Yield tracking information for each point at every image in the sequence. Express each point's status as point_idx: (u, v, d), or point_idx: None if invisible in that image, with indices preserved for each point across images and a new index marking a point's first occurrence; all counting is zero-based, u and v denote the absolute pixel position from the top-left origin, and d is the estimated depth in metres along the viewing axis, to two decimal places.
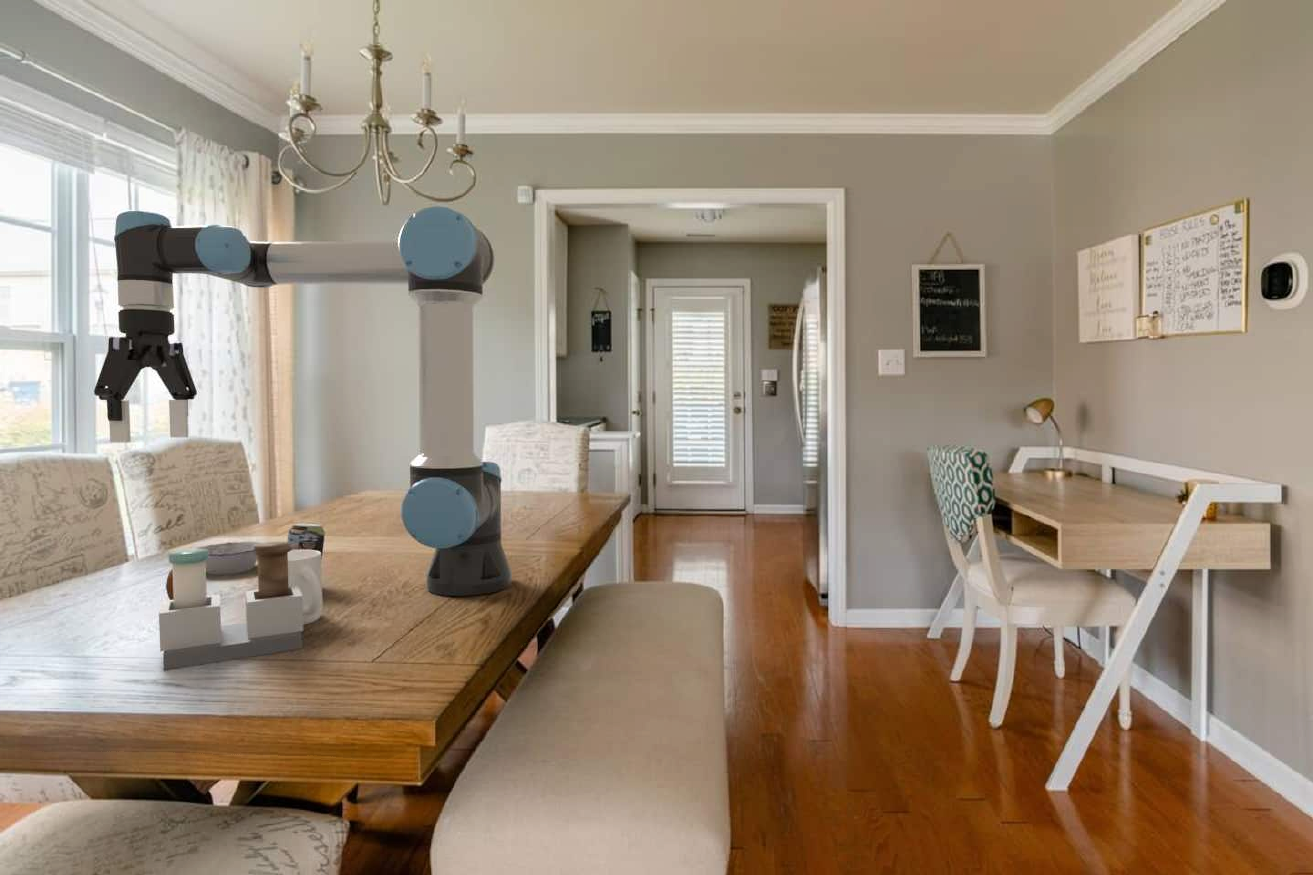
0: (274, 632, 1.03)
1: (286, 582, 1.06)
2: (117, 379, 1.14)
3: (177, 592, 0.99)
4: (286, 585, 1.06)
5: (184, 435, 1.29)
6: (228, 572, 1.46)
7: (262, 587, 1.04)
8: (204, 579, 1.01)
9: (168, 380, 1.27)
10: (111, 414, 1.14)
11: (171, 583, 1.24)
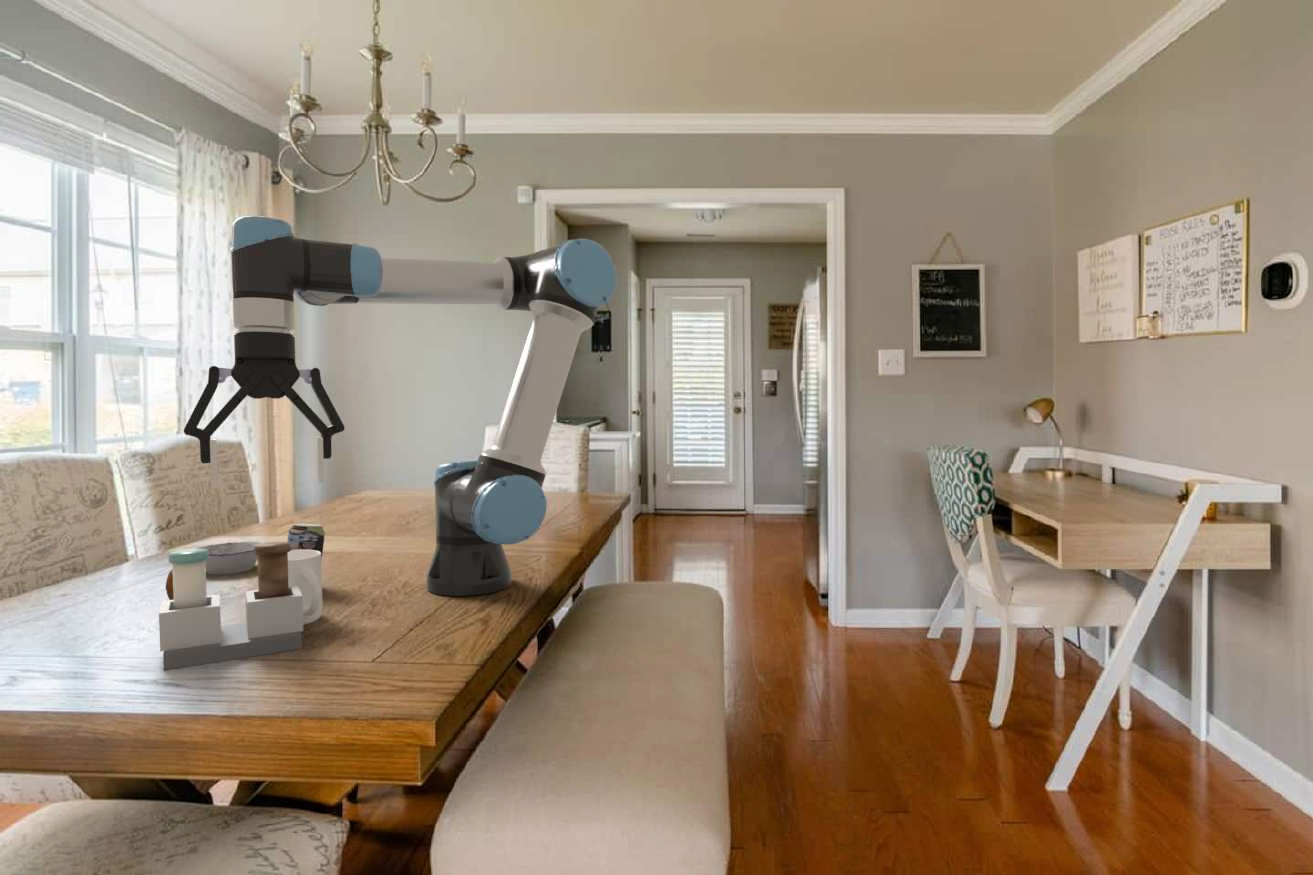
0: (274, 632, 1.03)
1: (286, 582, 1.06)
2: (197, 416, 0.99)
3: (177, 592, 0.99)
4: (286, 585, 1.06)
5: (318, 480, 1.07)
6: (228, 572, 1.46)
7: (262, 587, 1.04)
8: (204, 579, 1.01)
9: (302, 413, 1.07)
10: None
11: (171, 583, 1.23)
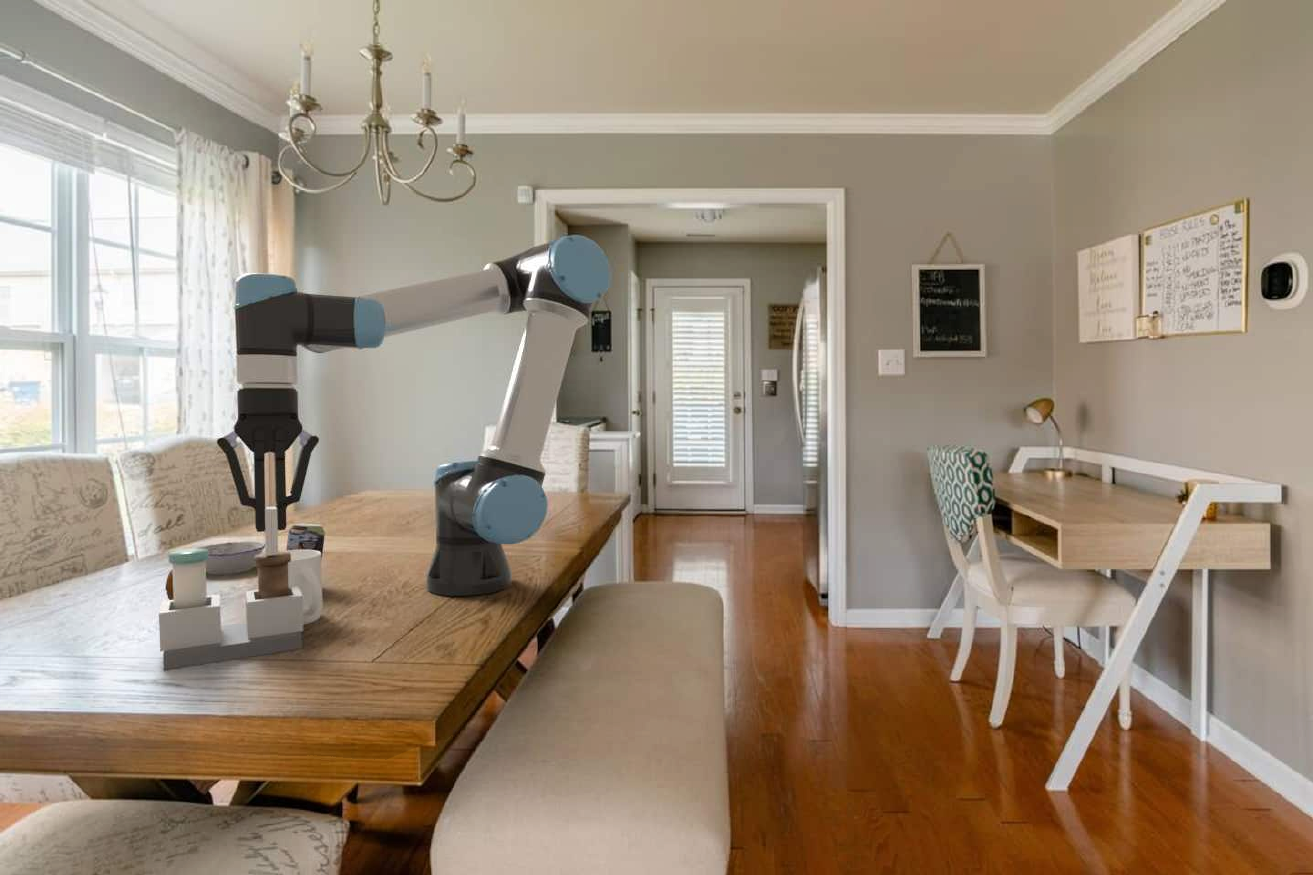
0: (274, 632, 1.03)
1: (286, 592, 1.06)
2: (242, 485, 1.02)
3: (177, 592, 0.99)
4: (286, 595, 1.06)
5: (271, 552, 1.04)
6: (228, 572, 1.46)
7: (262, 598, 1.04)
8: (204, 579, 1.01)
9: (275, 474, 1.05)
10: (256, 524, 1.04)
11: (171, 584, 1.23)
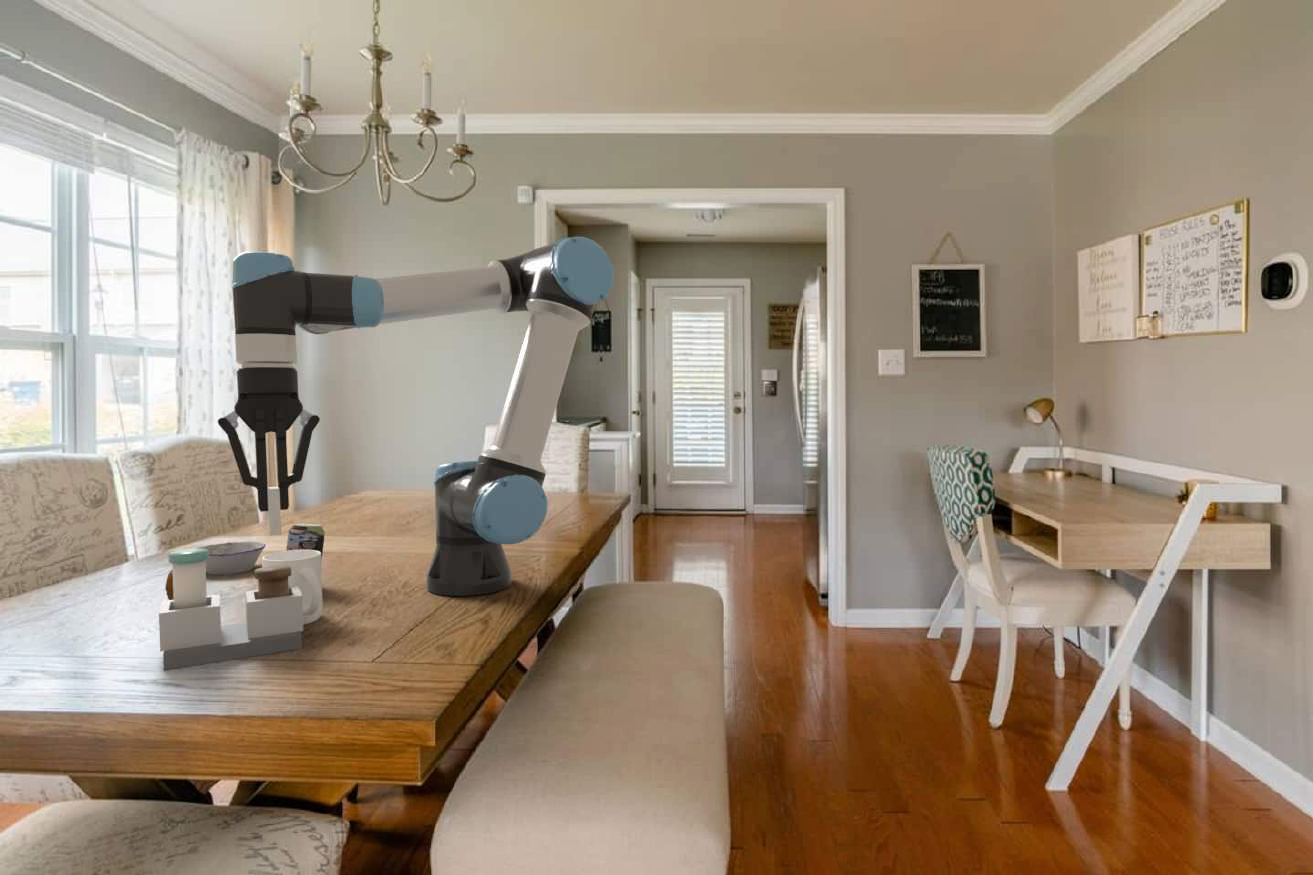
0: (274, 632, 1.03)
1: None
2: (244, 465, 1.02)
3: (177, 592, 0.99)
4: None
5: None
6: (228, 572, 1.46)
7: None
8: (204, 579, 1.01)
9: (276, 454, 1.05)
10: None
11: (171, 584, 1.23)
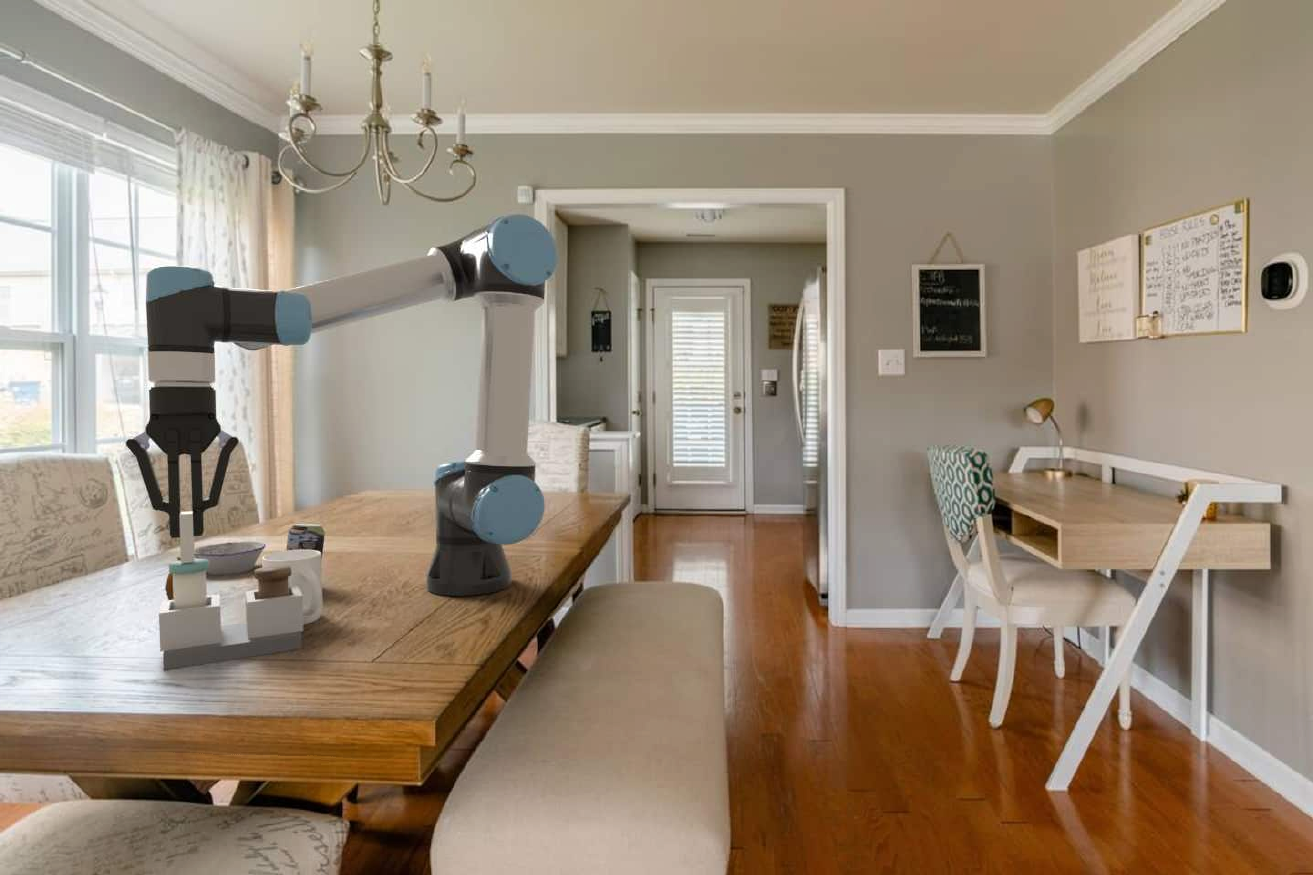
0: (274, 632, 1.03)
1: None
2: (153, 489, 0.97)
3: (177, 602, 0.99)
4: None
5: (187, 559, 0.99)
6: (228, 572, 1.46)
7: None
8: (204, 589, 1.01)
9: None
10: None
11: (171, 584, 1.23)
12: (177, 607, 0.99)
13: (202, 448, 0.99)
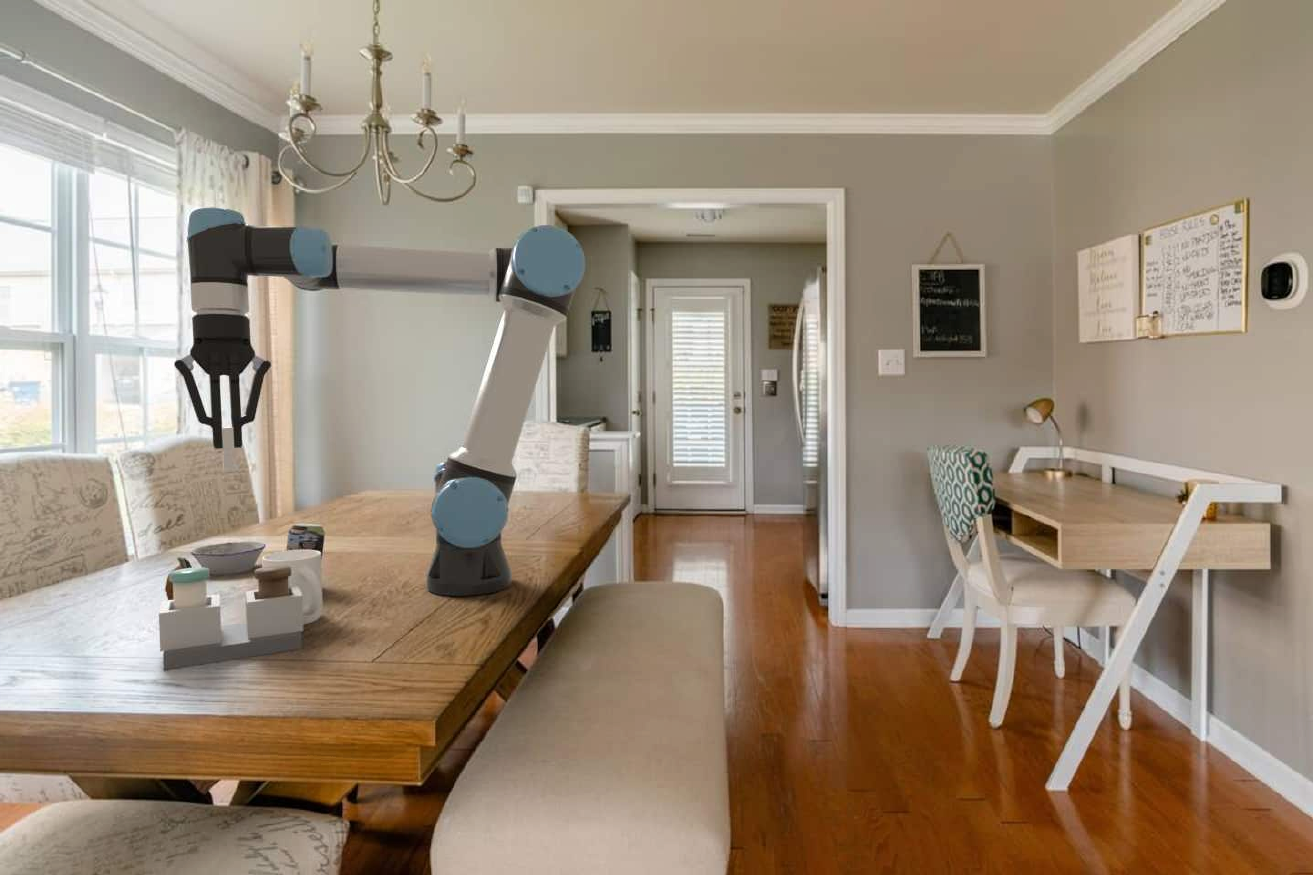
0: (274, 632, 1.03)
1: None
2: (199, 405, 1.10)
3: None
4: None
5: (229, 468, 1.13)
6: (228, 572, 1.46)
7: None
8: (205, 598, 1.01)
9: (230, 396, 1.14)
10: None
11: (171, 585, 1.22)
12: None
13: (240, 370, 1.13)
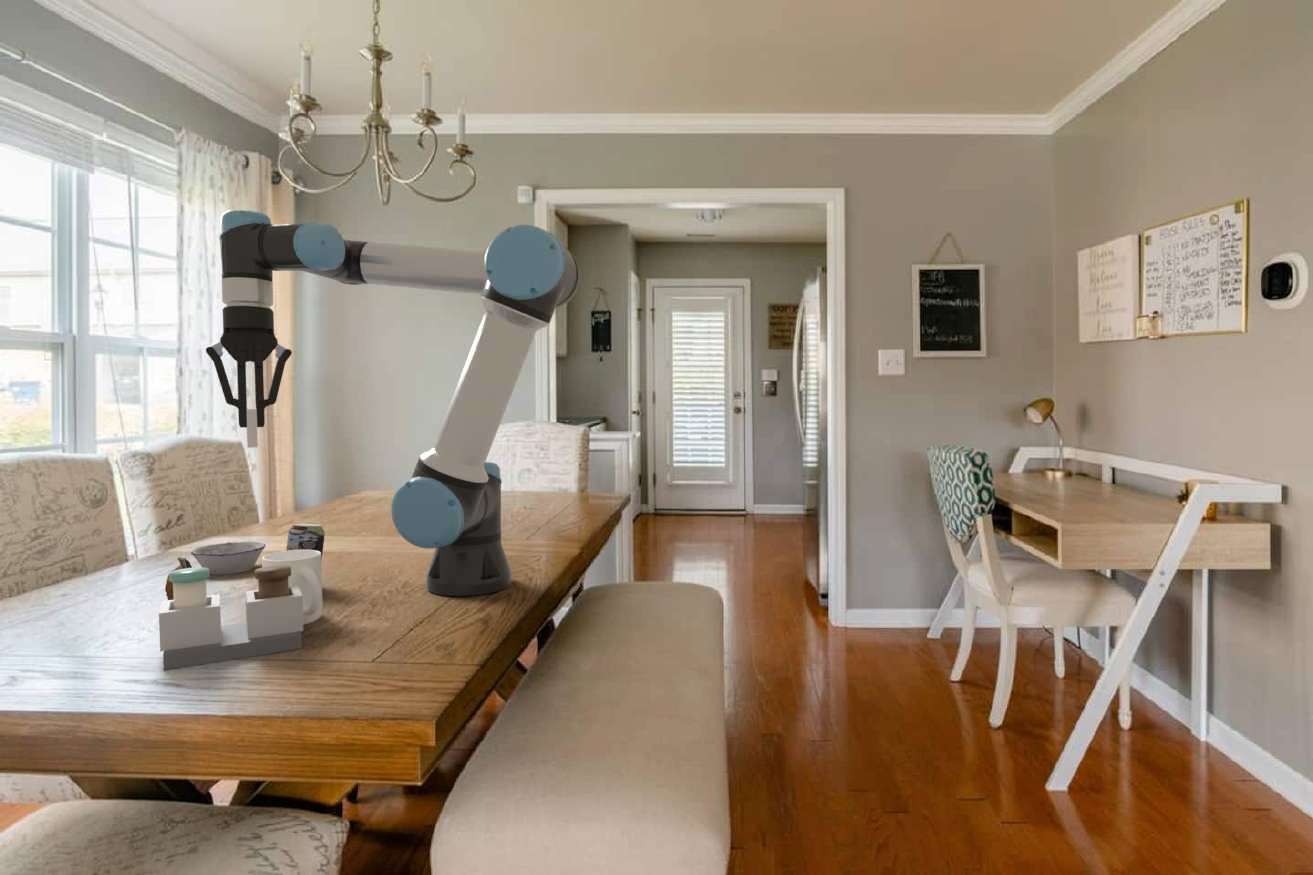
0: (274, 632, 1.03)
1: None
2: (227, 387, 1.23)
3: None
4: None
5: (252, 445, 1.25)
6: (228, 572, 1.46)
7: None
8: (205, 598, 1.01)
9: None
10: (239, 421, 1.25)
11: (171, 585, 1.22)
12: None
13: (263, 357, 1.25)
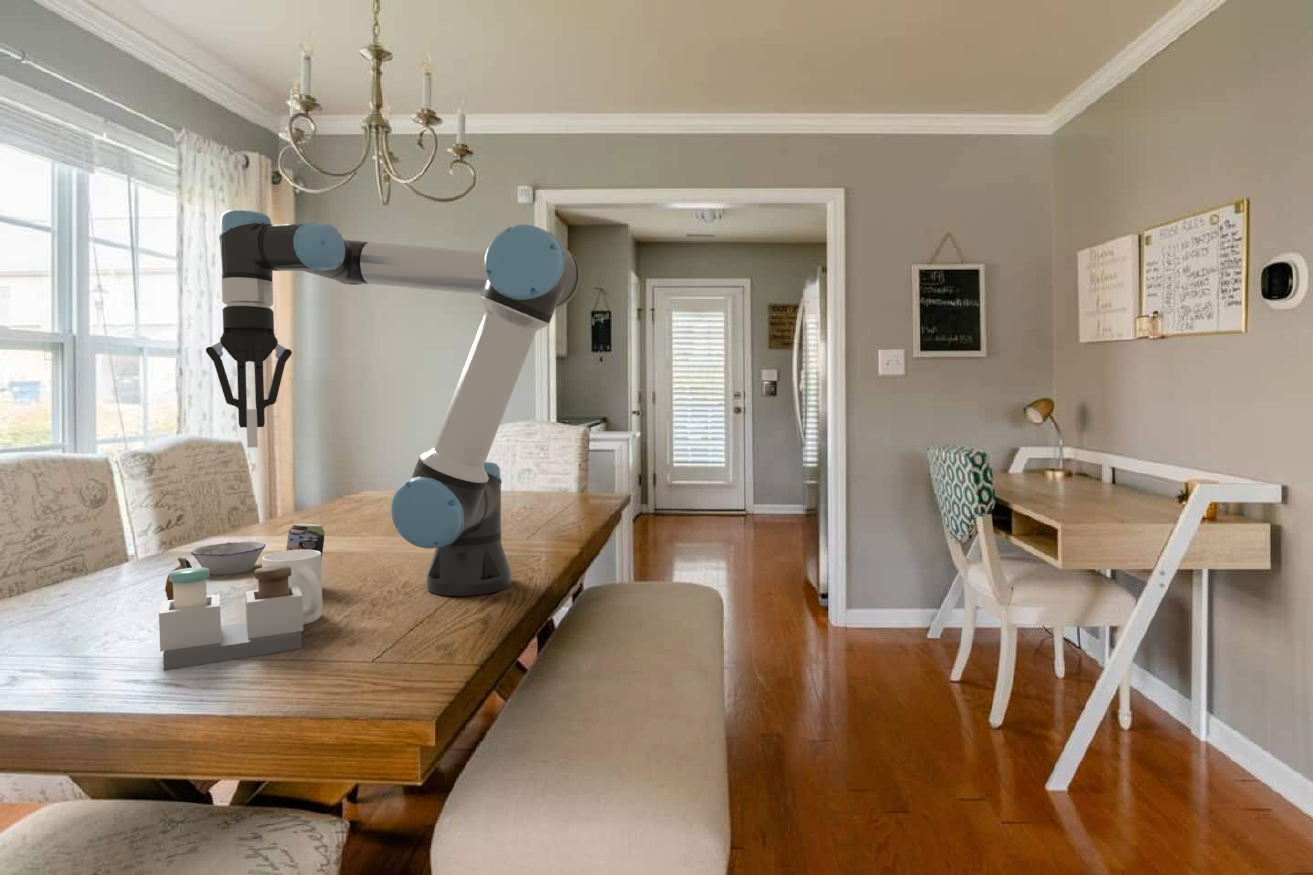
0: (274, 632, 1.03)
1: None
2: (227, 387, 1.23)
3: None
4: None
5: (252, 445, 1.25)
6: (228, 572, 1.46)
7: None
8: (205, 598, 1.01)
9: None
10: (239, 421, 1.25)
11: (171, 585, 1.22)
12: None
13: (263, 357, 1.25)
